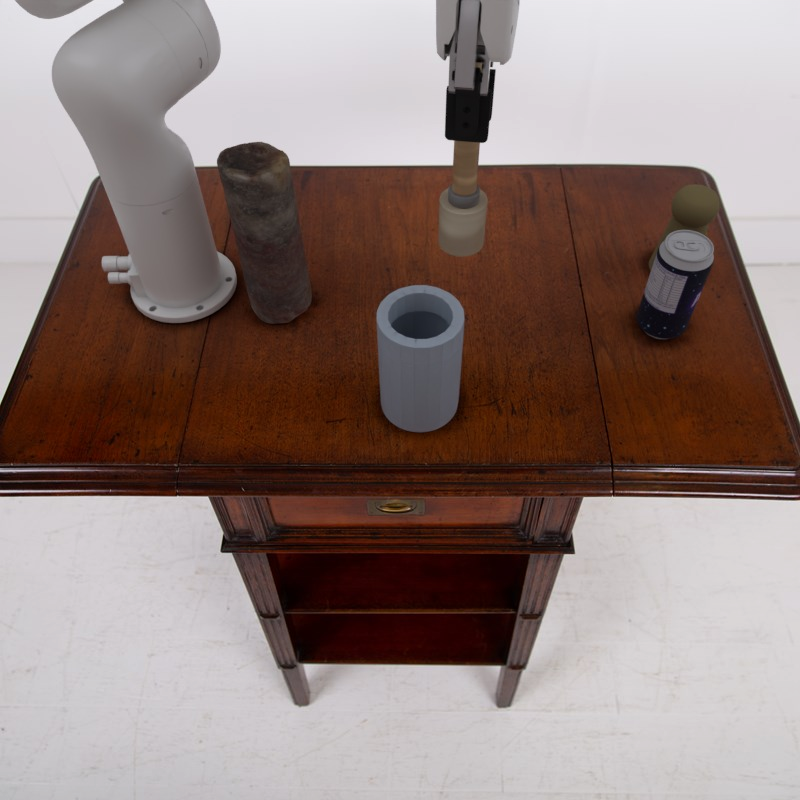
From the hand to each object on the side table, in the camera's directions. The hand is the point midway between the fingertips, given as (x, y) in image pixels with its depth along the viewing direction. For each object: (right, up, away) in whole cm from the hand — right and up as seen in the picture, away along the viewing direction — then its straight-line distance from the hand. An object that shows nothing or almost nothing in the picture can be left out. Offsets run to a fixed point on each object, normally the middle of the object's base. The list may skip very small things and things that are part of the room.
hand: (468, 127), depth 58 cm
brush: (0, -7, +9) cm, 11 cm away
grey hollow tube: (-3, -21, +23) cm, 31 cm away
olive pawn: (+29, -4, +36) cm, 46 cm away
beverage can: (+25, -12, +30) cm, 41 cm away
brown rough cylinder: (-19, -9, +33) cm, 39 cm away
